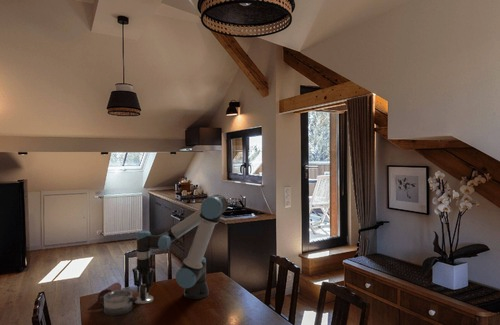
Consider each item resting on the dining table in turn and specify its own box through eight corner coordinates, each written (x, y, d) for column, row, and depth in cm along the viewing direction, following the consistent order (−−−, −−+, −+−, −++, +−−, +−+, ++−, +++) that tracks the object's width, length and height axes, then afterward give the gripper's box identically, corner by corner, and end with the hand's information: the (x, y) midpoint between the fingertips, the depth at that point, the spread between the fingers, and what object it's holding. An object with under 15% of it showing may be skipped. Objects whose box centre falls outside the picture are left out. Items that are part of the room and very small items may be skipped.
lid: (156, 297, 207) (156, 282, 207) (148, 304, 196) (148, 289, 196) (139, 296, 209) (139, 281, 209) (130, 303, 198) (130, 288, 198)
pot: (142, 305, 196) (142, 291, 195) (129, 316, 181) (129, 301, 181) (108, 303, 199) (108, 288, 199) (92, 314, 184) (92, 298, 184)
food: (115, 305, 196) (114, 289, 196) (97, 306, 195) (97, 290, 195) (122, 291, 217) (122, 277, 217) (106, 292, 216) (106, 277, 216)
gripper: (159, 256, 205) (159, 296, 205) (133, 255, 207) (133, 294, 208) (153, 260, 197) (153, 301, 198) (127, 259, 200) (127, 299, 200)
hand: (143, 297), depth 203 cm, fingers closed on lid, 3 cm apart
